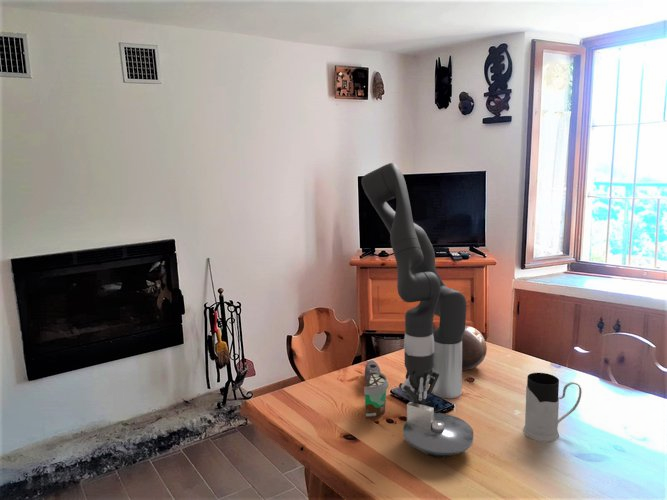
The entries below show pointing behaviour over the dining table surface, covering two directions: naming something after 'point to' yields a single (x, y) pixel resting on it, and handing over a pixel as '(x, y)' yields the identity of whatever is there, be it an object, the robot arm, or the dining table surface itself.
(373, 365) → the perforated stone tool
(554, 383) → the glass holder
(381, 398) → the food container
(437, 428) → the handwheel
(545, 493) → the dining table surface
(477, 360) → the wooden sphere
